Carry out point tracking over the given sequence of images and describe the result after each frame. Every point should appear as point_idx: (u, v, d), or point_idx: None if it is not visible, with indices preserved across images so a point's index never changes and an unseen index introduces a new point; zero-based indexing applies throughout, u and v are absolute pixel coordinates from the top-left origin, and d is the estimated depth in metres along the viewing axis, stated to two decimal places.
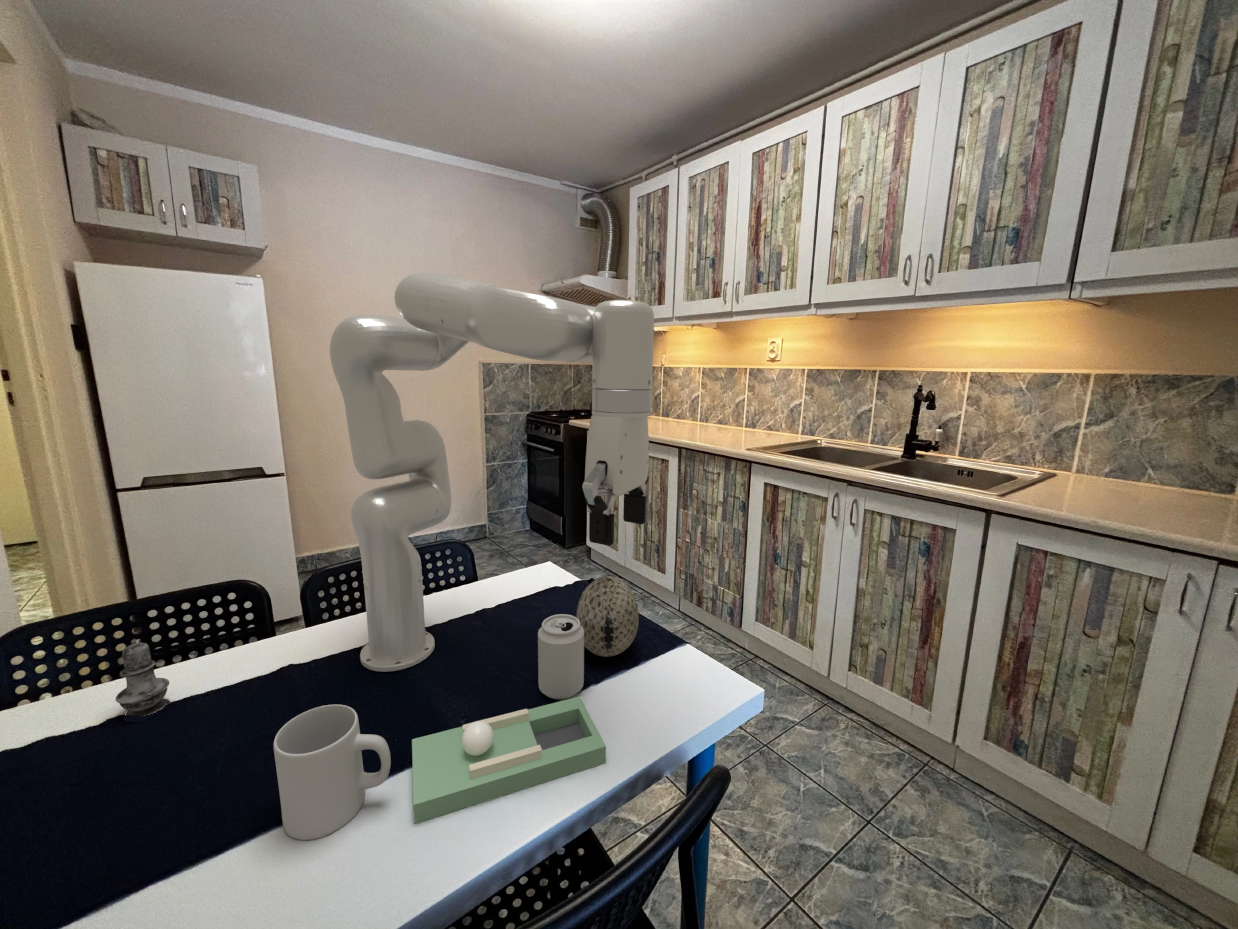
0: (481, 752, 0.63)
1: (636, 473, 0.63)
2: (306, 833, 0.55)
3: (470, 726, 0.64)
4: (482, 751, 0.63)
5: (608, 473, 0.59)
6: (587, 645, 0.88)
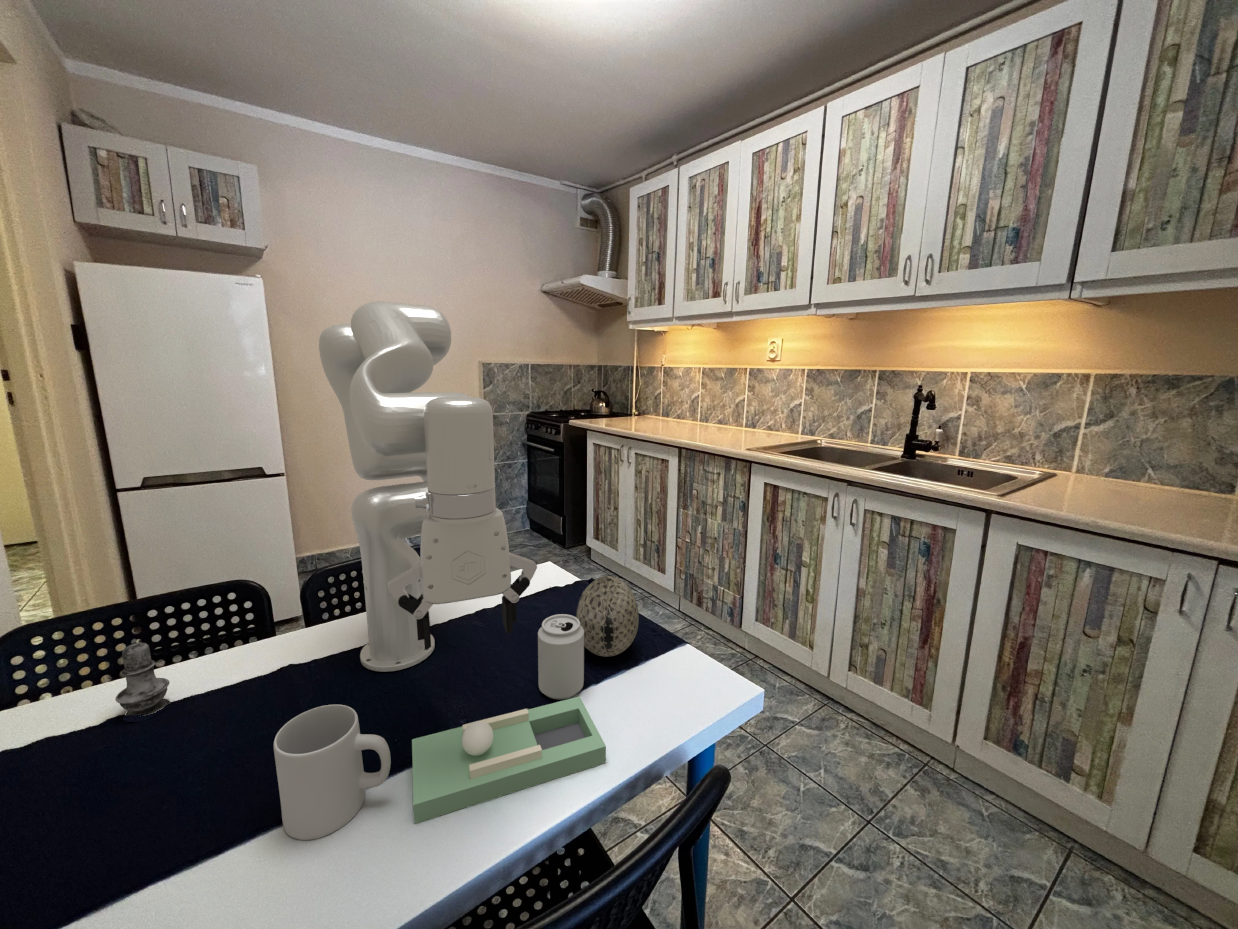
0: (481, 752, 0.63)
1: None
2: (306, 833, 0.55)
3: (470, 726, 0.64)
4: (482, 751, 0.63)
5: None
6: (587, 645, 0.88)
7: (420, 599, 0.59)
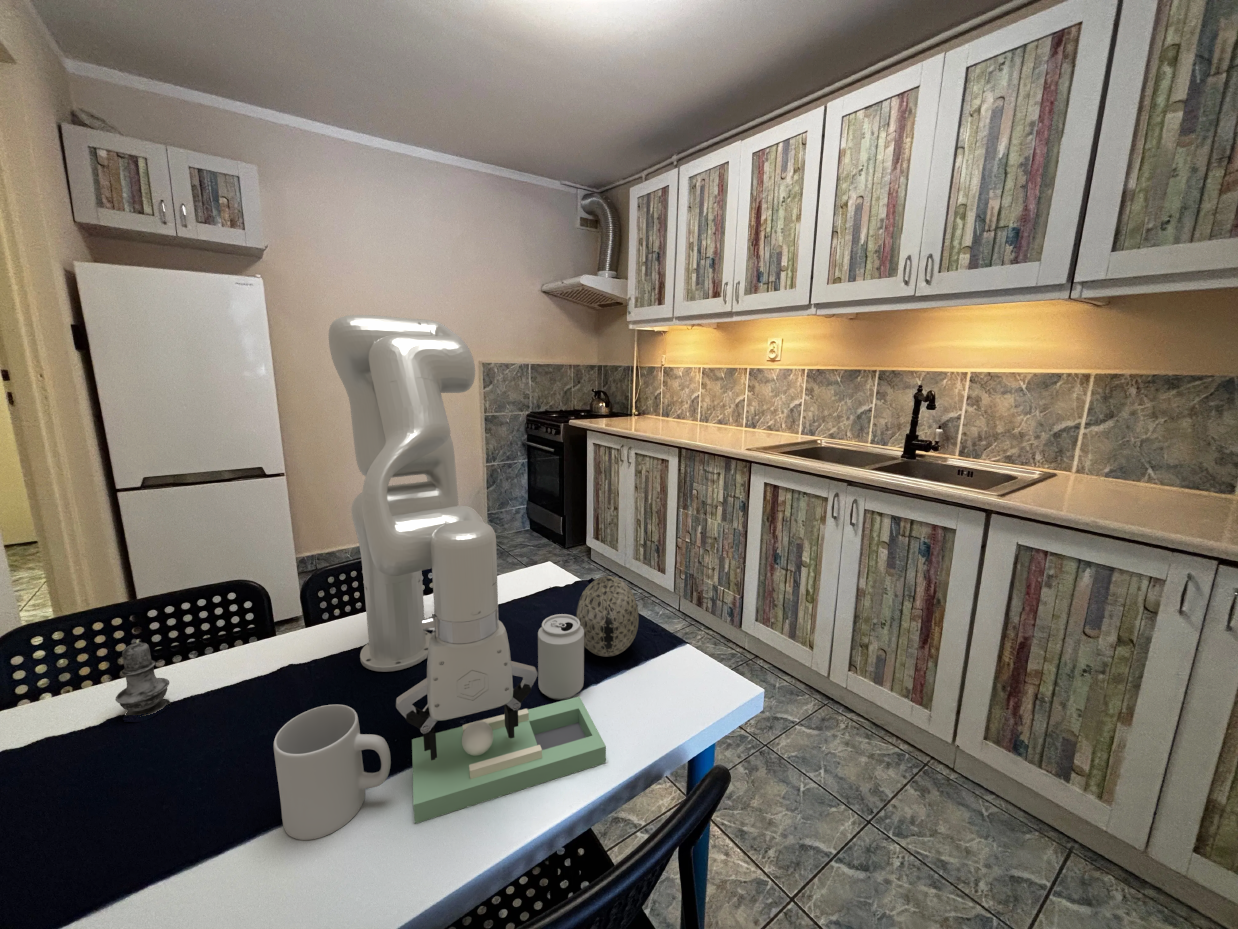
0: (481, 752, 0.63)
1: None
2: (306, 833, 0.55)
3: (470, 726, 0.64)
4: (482, 751, 0.63)
5: None
6: (587, 645, 0.88)
7: (426, 711, 0.62)
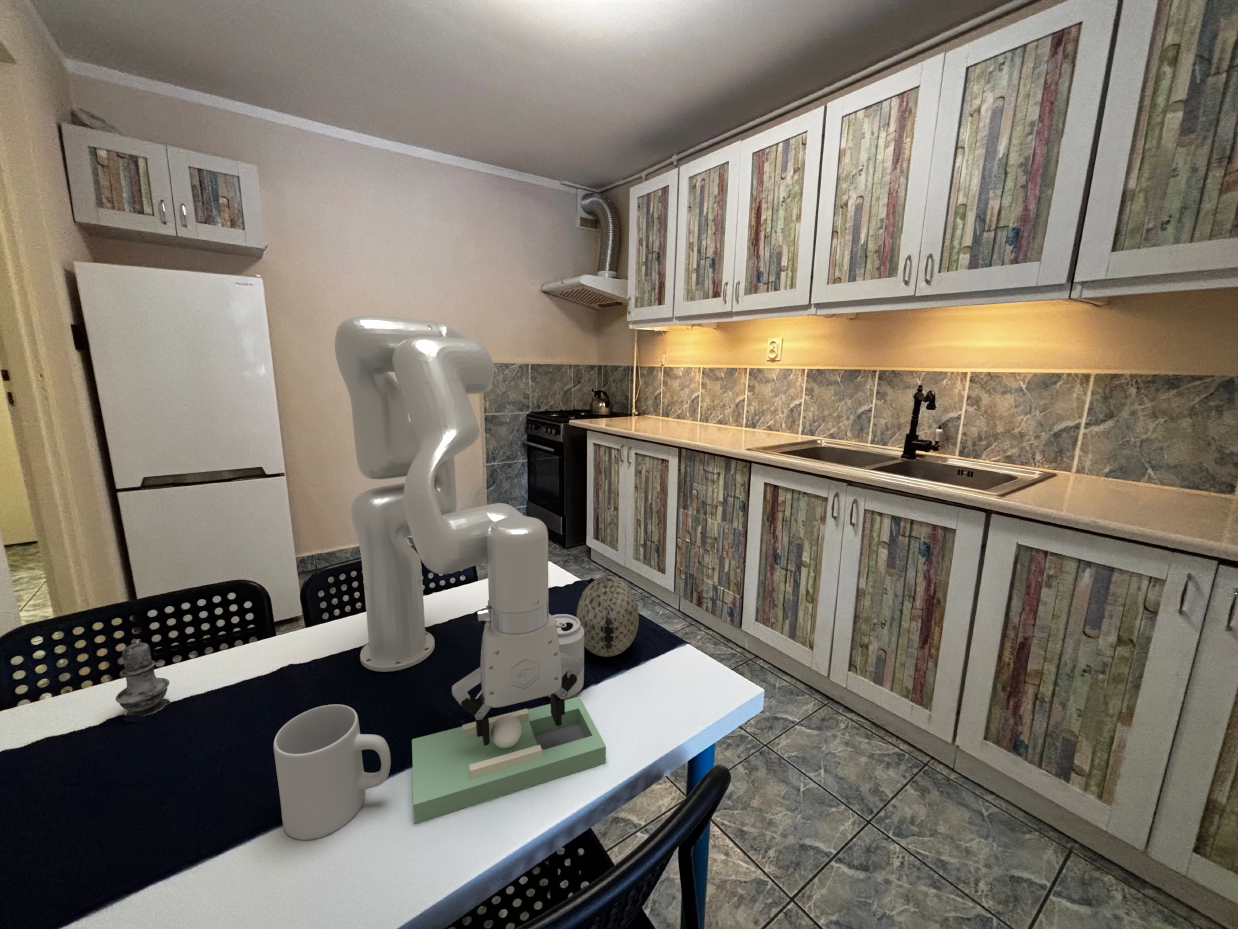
0: (502, 743, 0.64)
1: None
2: (306, 833, 0.55)
3: (520, 724, 0.66)
4: (502, 744, 0.64)
5: None
6: (587, 645, 0.88)
7: (479, 698, 0.64)
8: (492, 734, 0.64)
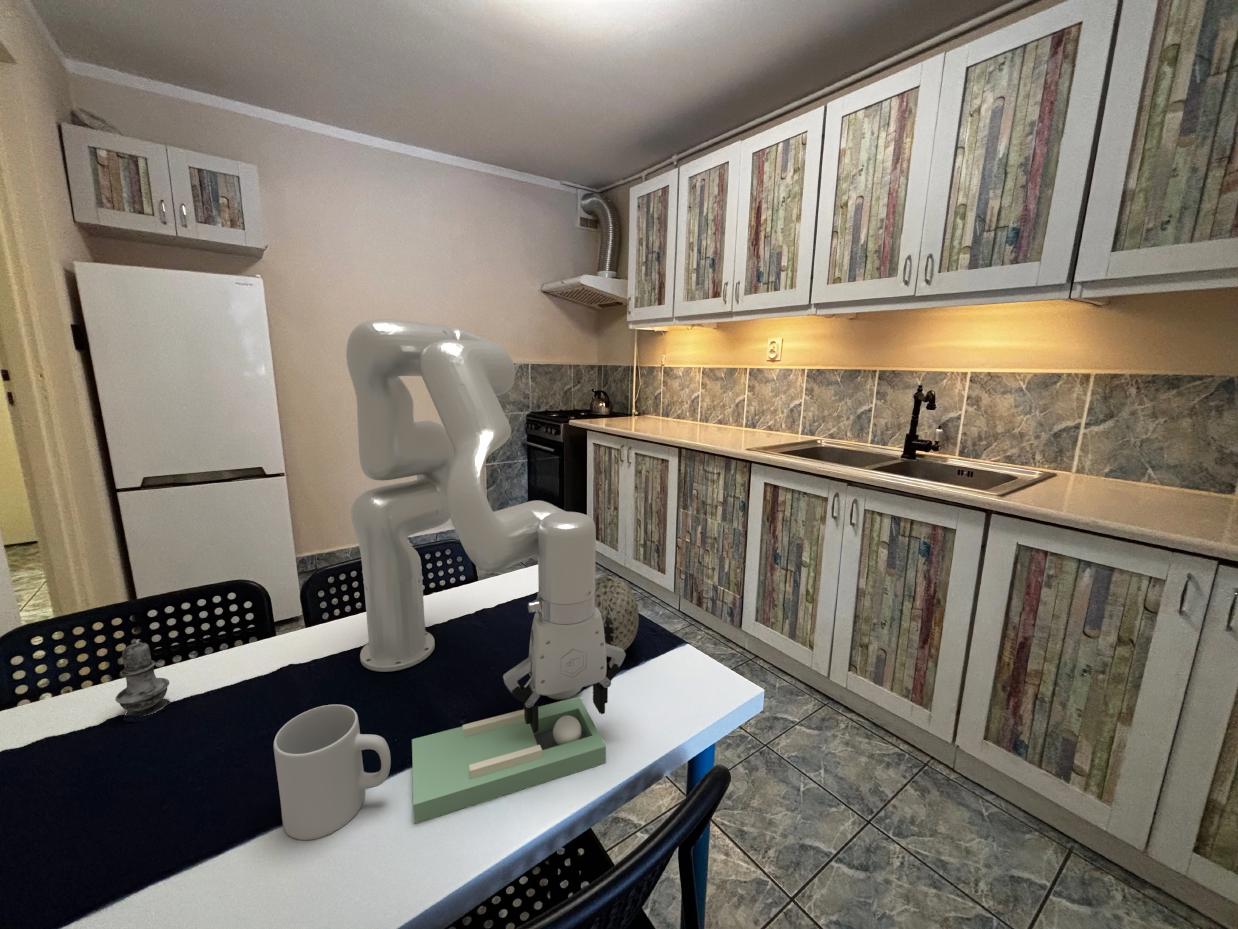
0: None
1: None
2: (306, 833, 0.55)
3: (562, 719, 0.69)
4: None
5: None
6: None
7: (528, 687, 0.67)
8: None
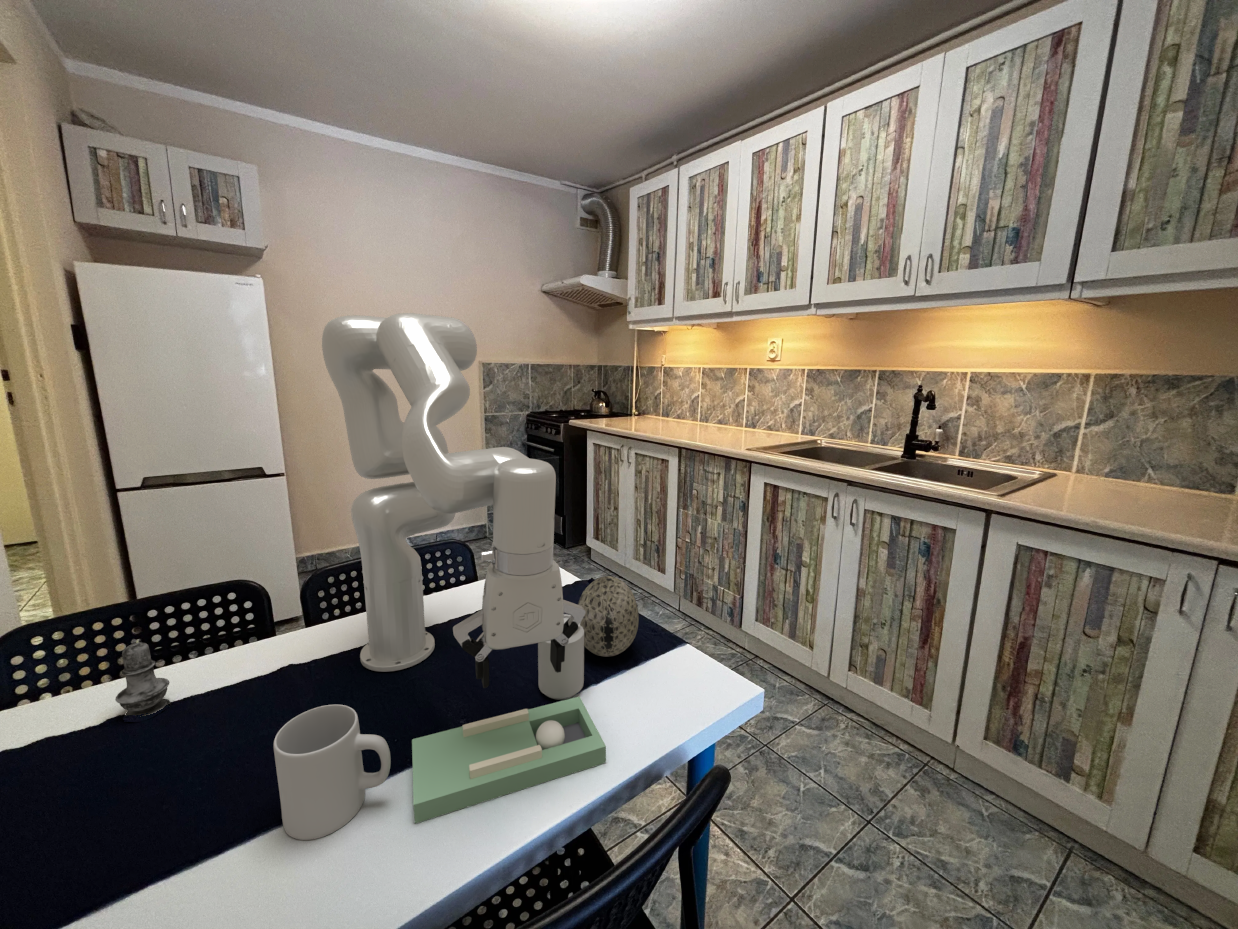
0: (559, 744, 0.67)
1: None
2: (306, 833, 0.55)
3: None
4: (559, 743, 0.67)
5: None
6: (587, 645, 0.88)
7: (480, 641, 0.64)
8: None
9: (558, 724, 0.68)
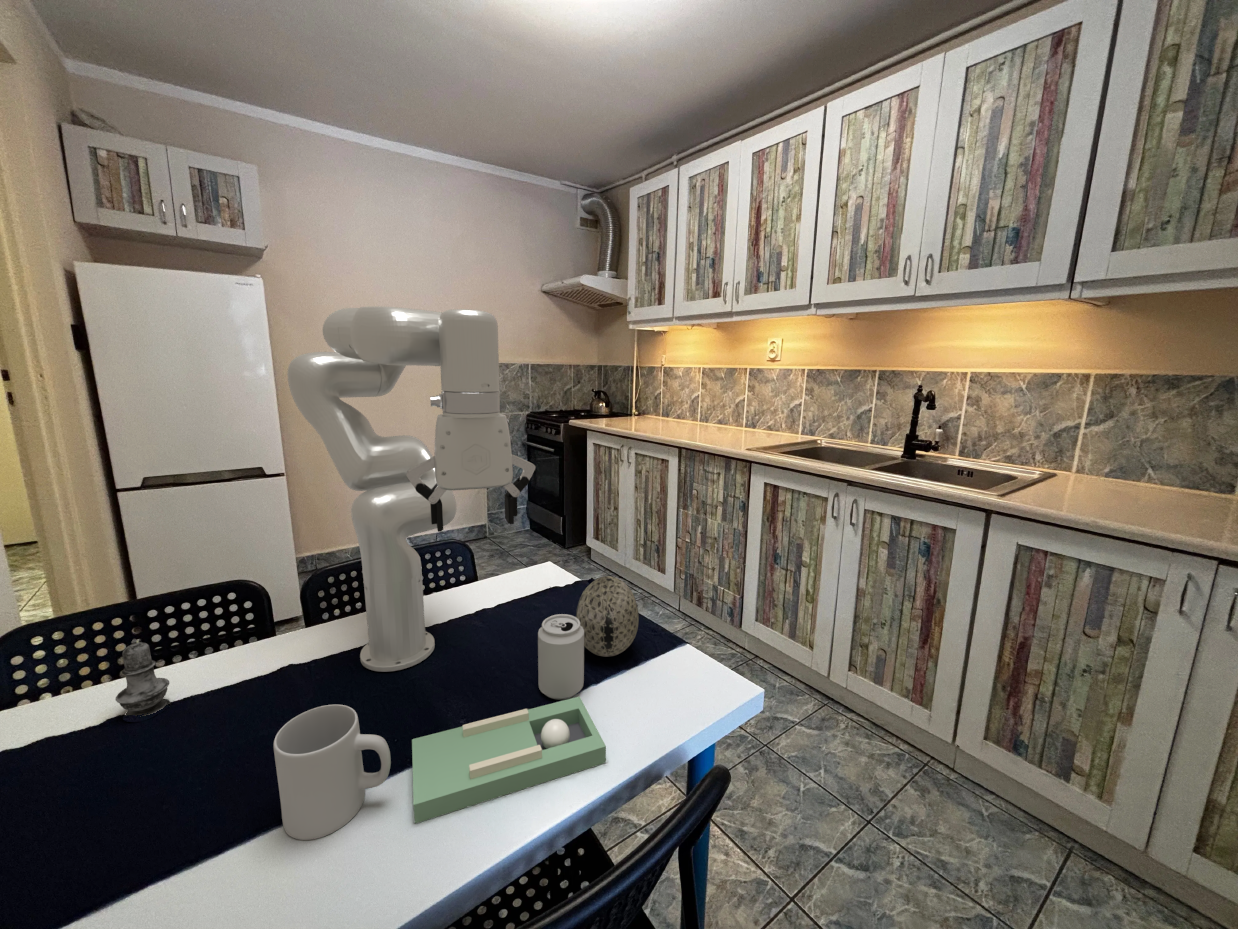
0: None
1: None
2: (306, 833, 0.55)
3: (542, 732, 0.68)
4: (564, 743, 0.67)
5: None
6: (587, 645, 0.88)
7: (434, 489, 0.68)
8: None
9: (566, 725, 0.69)
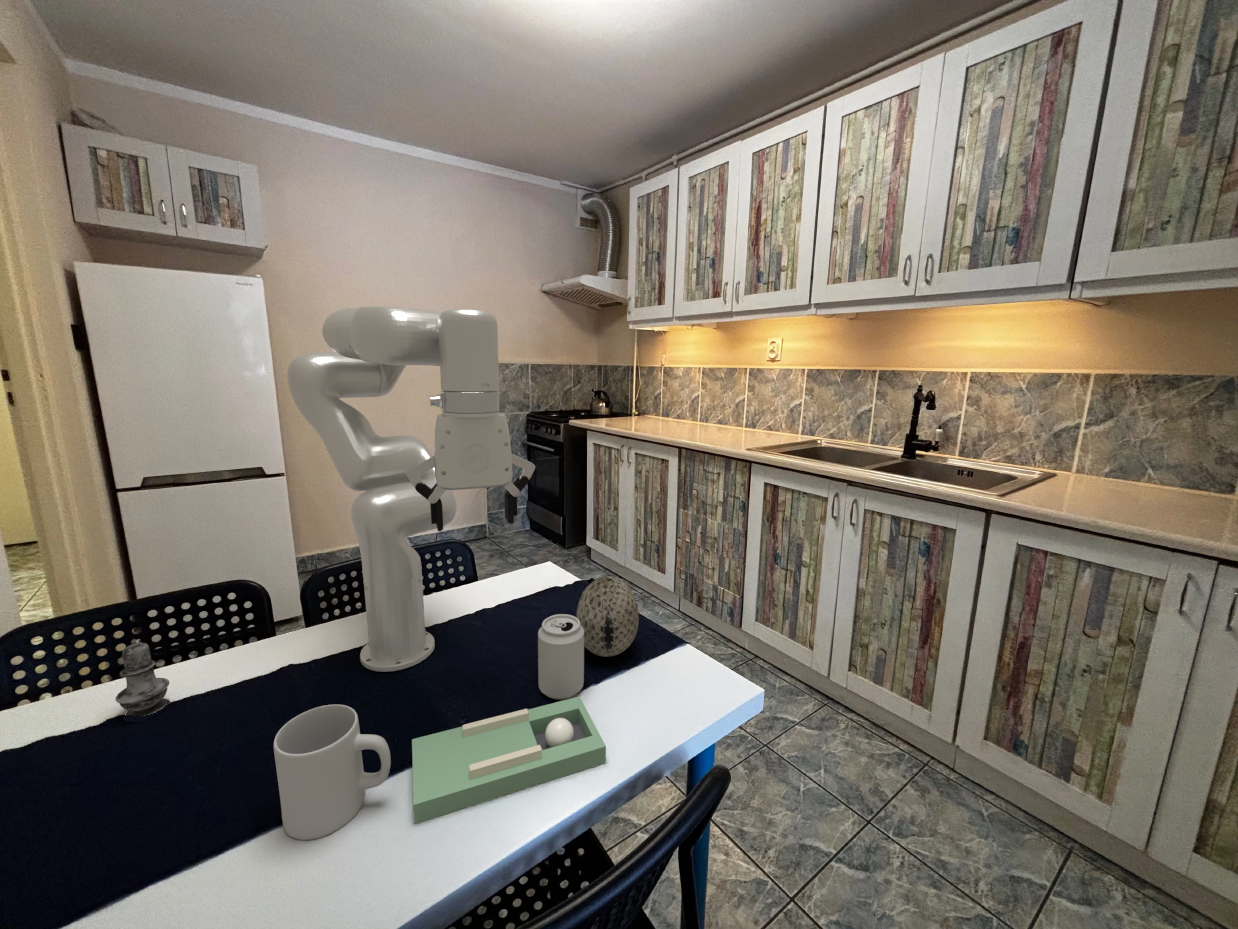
0: None
1: None
2: (306, 833, 0.55)
3: (548, 727, 0.68)
4: None
5: None
6: (587, 645, 0.88)
7: (434, 489, 0.68)
8: None
9: (572, 727, 0.69)
